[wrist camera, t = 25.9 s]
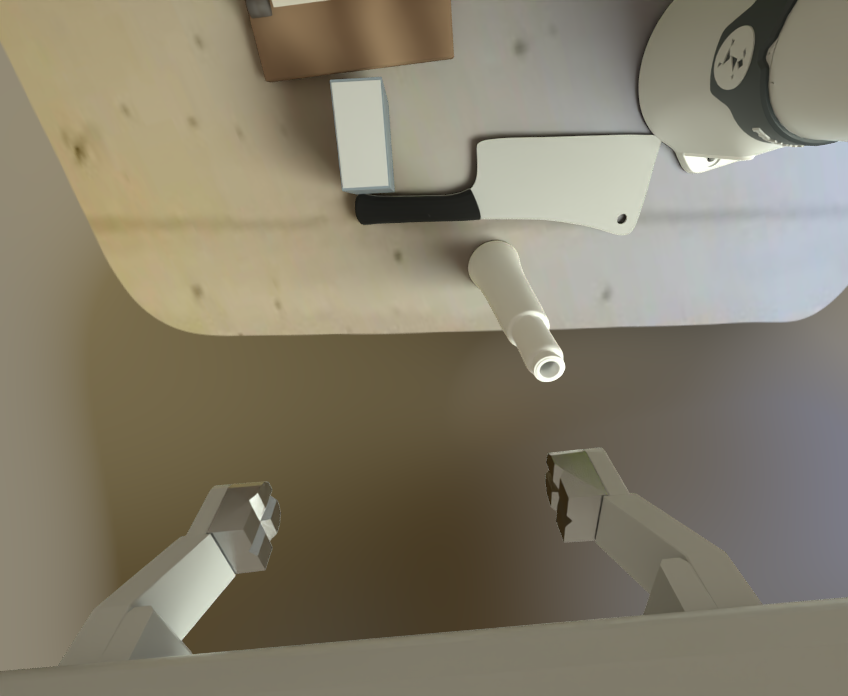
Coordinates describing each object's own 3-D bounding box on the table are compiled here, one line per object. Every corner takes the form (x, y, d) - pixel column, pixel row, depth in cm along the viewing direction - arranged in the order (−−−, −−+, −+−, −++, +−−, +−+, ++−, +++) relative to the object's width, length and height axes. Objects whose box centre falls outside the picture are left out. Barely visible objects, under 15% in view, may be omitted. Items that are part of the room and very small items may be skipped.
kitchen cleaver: (667, 135, 40) (639, 236, 45) (657, 134, 41) (631, 233, 46) (348, 132, 38) (356, 238, 43) (350, 131, 39) (358, 234, 44)
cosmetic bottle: (519, 286, 49) (589, 398, 30) (469, 292, 49) (507, 408, 30) (519, 236, 45) (596, 326, 27) (465, 244, 46) (505, 338, 27)
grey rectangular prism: (381, 76, 31) (390, 188, 34) (388, 103, 39) (394, 192, 41) (329, 79, 31) (342, 190, 34) (346, 105, 39) (355, 194, 41)
